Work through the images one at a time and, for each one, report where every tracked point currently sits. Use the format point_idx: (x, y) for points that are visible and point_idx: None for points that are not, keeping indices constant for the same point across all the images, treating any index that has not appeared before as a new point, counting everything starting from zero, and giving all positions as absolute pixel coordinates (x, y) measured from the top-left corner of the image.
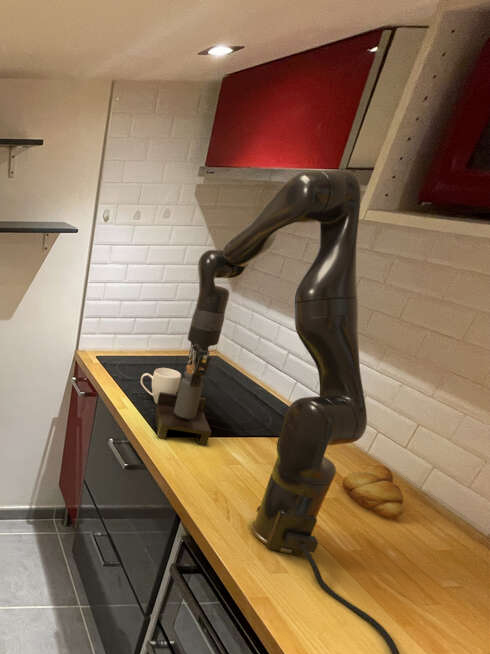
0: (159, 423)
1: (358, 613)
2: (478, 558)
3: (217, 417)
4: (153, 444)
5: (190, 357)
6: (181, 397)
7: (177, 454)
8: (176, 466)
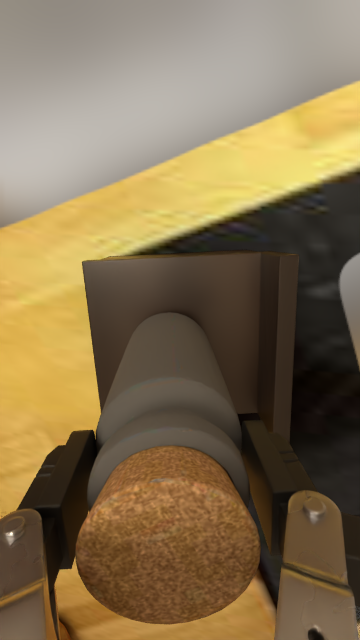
0: (133, 257)
1: None
2: None
3: (320, 438)
4: (59, 239)
5: (279, 601)
6: (129, 352)
7: (32, 309)
8: None
